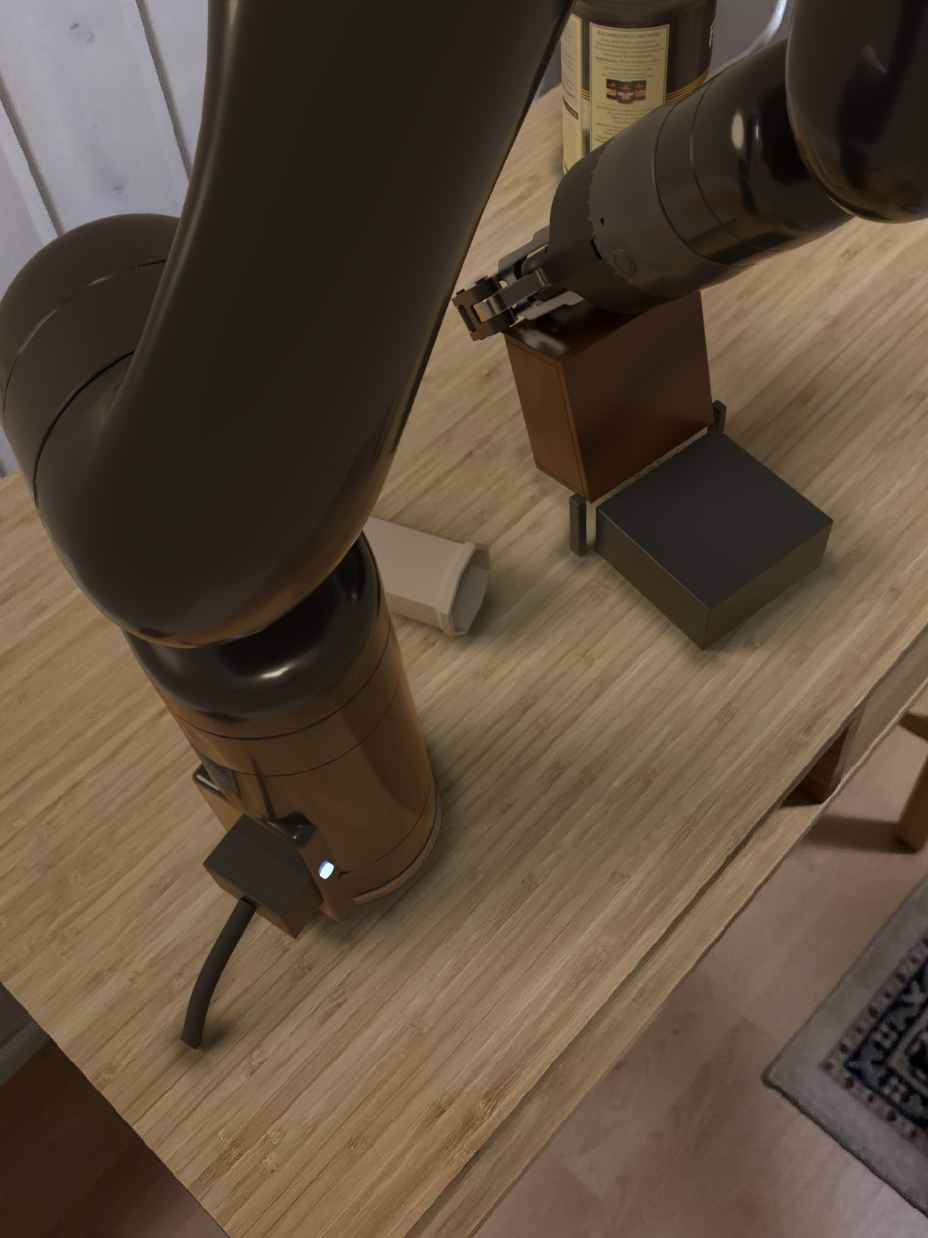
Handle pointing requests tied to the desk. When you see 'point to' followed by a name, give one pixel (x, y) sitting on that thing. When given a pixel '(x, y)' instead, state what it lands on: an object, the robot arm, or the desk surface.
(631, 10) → the coffee can
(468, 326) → the robot arm
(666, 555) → the stand
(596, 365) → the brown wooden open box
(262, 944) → the desk surface
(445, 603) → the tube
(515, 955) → the desk surface
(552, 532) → the desk surface
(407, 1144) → the desk surface
